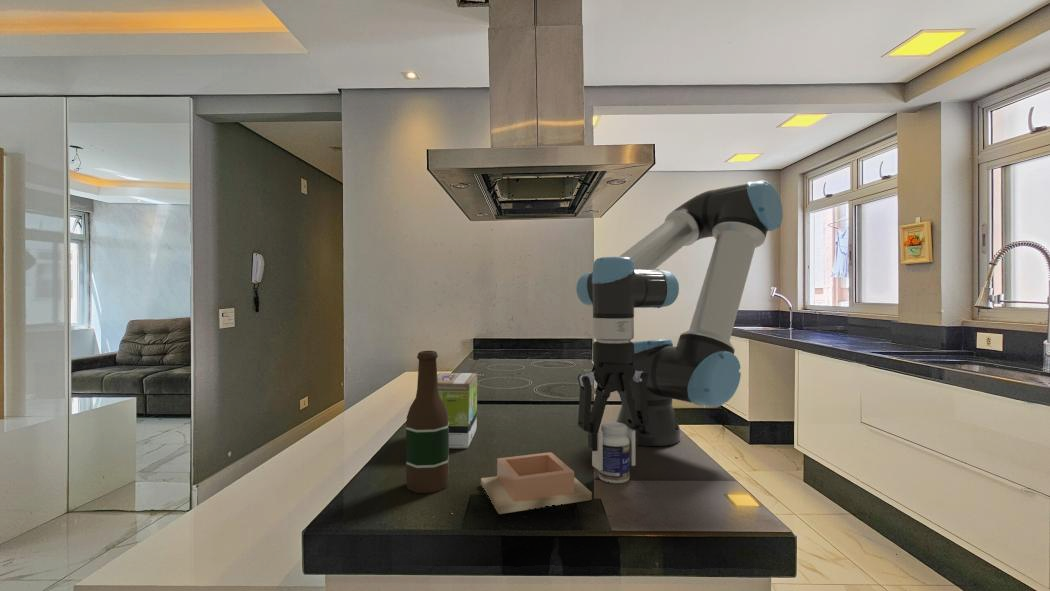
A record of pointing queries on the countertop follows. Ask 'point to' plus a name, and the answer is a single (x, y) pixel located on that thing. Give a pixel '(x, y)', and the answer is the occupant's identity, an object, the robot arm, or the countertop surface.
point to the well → (535, 476)
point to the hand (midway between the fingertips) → (613, 465)
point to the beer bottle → (427, 432)
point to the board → (507, 505)
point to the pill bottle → (615, 453)
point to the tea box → (459, 406)
